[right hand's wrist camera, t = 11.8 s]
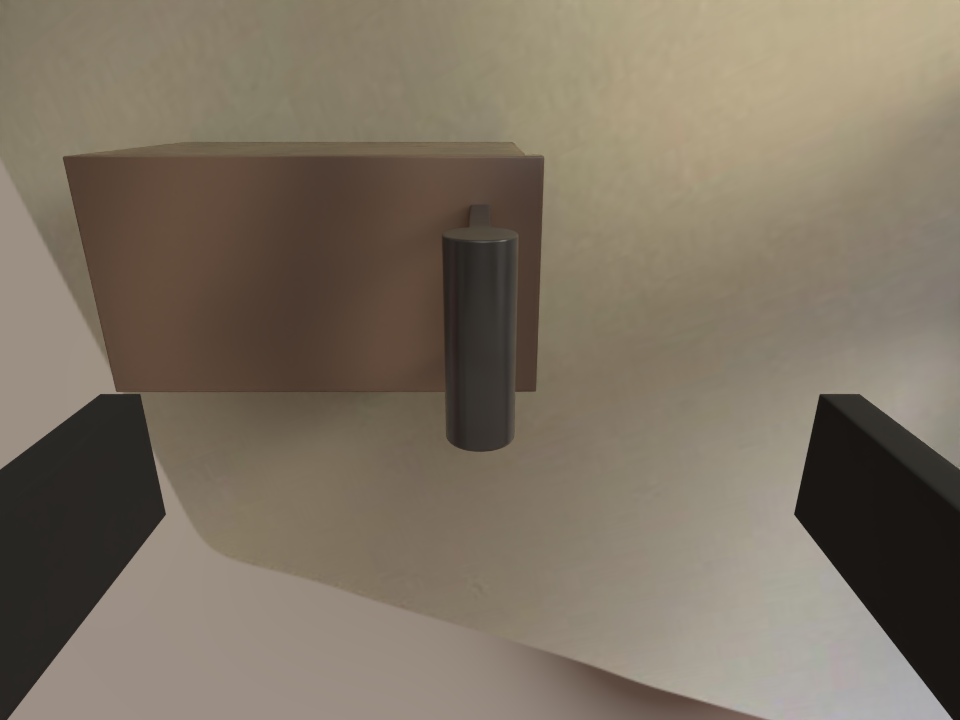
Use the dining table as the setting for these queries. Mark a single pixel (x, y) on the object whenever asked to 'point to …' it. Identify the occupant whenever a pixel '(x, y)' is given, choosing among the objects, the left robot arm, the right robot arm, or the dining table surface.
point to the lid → (320, 275)
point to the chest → (324, 148)
